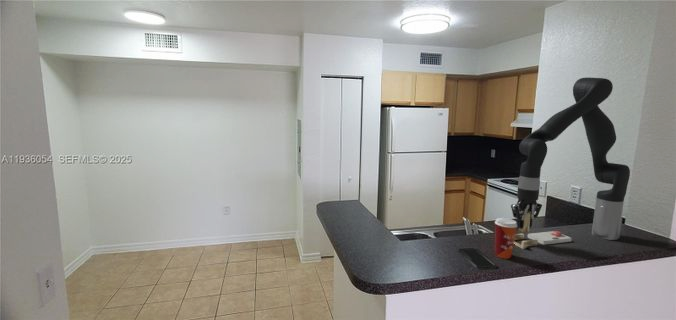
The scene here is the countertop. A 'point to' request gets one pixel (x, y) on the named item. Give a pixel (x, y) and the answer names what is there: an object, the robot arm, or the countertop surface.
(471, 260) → the phone
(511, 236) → the paper cup
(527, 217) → the cell
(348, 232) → the countertop surface
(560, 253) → the countertop surface
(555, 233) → the button
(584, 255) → the countertop surface
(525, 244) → the beige channel block
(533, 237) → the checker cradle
